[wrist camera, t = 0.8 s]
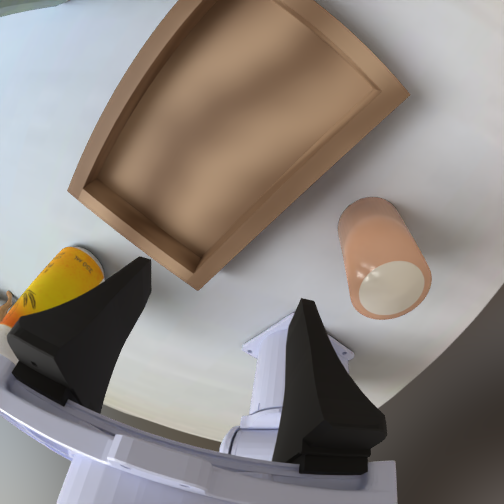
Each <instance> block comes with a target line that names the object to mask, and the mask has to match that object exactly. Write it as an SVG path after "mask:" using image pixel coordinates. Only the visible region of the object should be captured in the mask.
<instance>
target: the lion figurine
mask: <svg viewBox="0 0 504 504" xmlns="http://www.w3.org/2000/svg"><path fill="white" fill-rule="evenodd" d="M6 294H7V296H8V301H7V302H6V303H5V304H4V305H2V306H1V307H0V322H1V321H2V320H3V318H4V317H5V316H6V314H7V311H8V309H9V308H10V307H11V306H12V297H13V296H12V294H11V292H9V291H7V293H6Z"/></svg>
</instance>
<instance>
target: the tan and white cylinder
mask: <svg viewBox="0 0 504 504" xmlns="http://www.w3.org/2000/svg"><path fill="white" fill-rule="evenodd" d="M338 235H339V240H340V245H341V249H342V254H343V259H344V264H345V270H346V275H347V280H348V286H349V292H350V298H351V302H352V304H353V306H354V307H355V309H356V310H357V311H358V312H359V313H361V314H362V315H364V316H366V317H369V318H372V319H379V320H385V319H392V318H396V317H399V316H402V315H404V314H406V313H408V312H410V311H412V310H413V309H414V308H416V307H417V306H418V305H419V304H420V303H421V302H422V301H423V300H424V298H425V297H426V295H427V294H428V292H429V289H430V286H431V281H432V277H431V271H430V269H429V266H428V265H427V263H426V261H425V259H424V257H423V255H422V253H421V251H420V249H419V248H418V246H417V244H416V242H415V240H414V238H413V237H412V235H411V233H410V231H409V230H408V228H407V226H406V224H405V223H404V221H403V219H402V218H401V216H400V214H399V213H398V211H397V210H396V208H395V207H394V206H393V205H392V204H391V203H390V202H388V201H386V200H384V199H382V198H377V197H367V198H363V199H360V200H357V201H355V202H354V203H352V204H351V205H349V206H348V207H347V208H346V209H345V211H344V212H343V213H342V215H341V217H340V219H339V223H338Z"/></svg>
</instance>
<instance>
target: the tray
mask: <svg viewBox="0 0 504 504" xmlns="http://www.w3.org/2000/svg"><path fill="white" fill-rule="evenodd" d="M409 96H410V94H409V92H408V91H407V90H406V89H405V87H404V86H403V85H402V84H401V83H400V82H399V80H398V79H397V78H396V77H395V76H394V75H393V74H392V73H391V71H390V70H389V69H388V68H387V67H386V66H385V65H384V64H383V63H382V62H381V61H380V60H379V59H378V58H377V56H376V55H375V54H374V53H373V52H372V51H371V50H370V49H369V48H368V47H367V46H366V45H365V44H364V43H362V42H361V41H360V40H359V39H358V38H357V37H356V36H355V35H354V34H353V33H352V32H351V31H350V30H349V29H347V28H346V27H345V26H344V25H343V24H342V23H341V22H340V21H338V20H337V19H336V18H335V17H334V16H332V15H331V14H330V13H329V12H328V11H326V10H325V9H324V8H323V7H321V6H320V5H319V4H318V3H316V2H315V1H314V0H178V1H177V3H176V4H175V5H174V6H173V7H172V9H171V10H170V11H169V12H168V14H167V15H166V16H165V17H164V19H163V20H162V21H161V22H160V24H159V25H158V26H157V28H156V29H155V30H154V32H153V33H152V34H151V36H150V37H149V39H148V40H147V41H146V43H145V44H144V46H143V47H142V49H141V50H140V51H139V53H138V54H137V56H136V57H135V59H134V60H133V62H132V63H131V65H130V67H129V68H128V70H127V71H126V73H125V74H124V76H123V78H122V79H121V81H120V83H119V84H118V86H117V88H116V89H115V91H114V93H113V95H112V96H111V98H110V100H109V102H108V104H107V105H106V107H105V109H104V111H103V113H102V115H101V117H100V119H99V120H98V122H97V124H96V126H95V128H94V130H93V132H92V134H91V137H90V139H89V141H88V143H87V145H86V147H85V149H84V152H83V154H82V156H81V158H80V161H79V163H78V165H77V168H76V170H75V173H74V175H73V177H72V180H71V183H70V185H69V188H68V190H67V191H68V192H69V193H70V194H71V195H73V196H74V197H75V198H76V199H77V200H79V201H80V202H81V203H82V204H83V205H85V206H86V207H87V208H88V209H90V210H91V211H92V212H93V213H94V214H96V215H97V216H98V217H99V218H101V219H102V220H103V221H104V222H106V223H107V224H108V225H110V226H111V227H112V228H113V229H115V230H116V231H117V232H118V233H120V234H121V235H122V236H124V237H125V238H126V239H127V240H129V241H130V242H131V243H133V244H134V245H135V246H137V247H138V248H139V249H141V250H142V251H143V252H145V253H146V254H147V255H149V256H150V257H151V258H153V259H154V260H155V261H157V262H158V263H159V264H161V265H162V266H164V267H165V268H166V269H168V270H169V271H170V272H172V273H173V274H175V275H176V276H177V277H179V278H180V279H182V280H183V281H184V282H186V283H187V284H189V285H190V286H191V287H193V288H194V289H196V290H197V291H199V290H200V289H201V288H202V287H203V286H204V285H205V284H206V283H207V282H208V281H209V280H210V279H211V278H212V277H213V276H214V275H216V274H217V273H218V272H219V271H220V270H221V269H222V268H223V267H224V266H225V265H226V264H227V263H228V262H229V261H230V260H232V259H233V258H234V257H235V256H236V255H237V254H238V253H239V252H240V251H241V250H242V249H243V248H244V247H245V246H247V245H248V244H249V243H250V242H251V241H252V240H253V239H254V238H255V237H256V236H257V235H258V234H259V233H260V232H262V231H263V230H264V229H265V228H266V227H267V226H268V225H269V224H270V223H271V222H272V221H273V220H274V219H276V218H277V217H278V216H279V215H280V214H281V213H282V212H283V211H284V210H285V209H286V208H287V207H288V206H290V205H291V204H292V203H293V202H294V201H295V200H296V199H297V198H298V197H299V196H300V195H301V194H303V193H304V192H305V191H306V190H307V189H308V188H309V187H310V186H311V185H312V184H313V183H314V182H316V181H317V180H318V179H319V178H320V177H321V176H322V175H323V174H324V173H325V172H326V171H327V170H329V169H330V168H331V167H332V166H333V165H334V164H335V163H336V162H337V161H338V160H339V159H341V158H342V157H343V156H344V155H345V154H346V153H347V152H348V151H349V150H350V149H351V148H353V147H354V146H355V145H356V144H357V143H358V142H359V141H360V140H361V139H362V138H364V137H365V136H366V135H367V134H368V133H369V132H370V131H371V130H372V129H373V128H374V127H376V126H377V125H378V124H379V123H380V122H381V121H382V120H383V119H384V118H385V117H387V116H388V115H389V114H390V113H391V112H392V111H393V110H394V109H395V108H397V107H398V106H399V105H400V104H401V103H402V102H403V101H404V100H405V99H406V98H408V97H409Z"/></svg>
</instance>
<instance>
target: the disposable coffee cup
mask: <svg viewBox="0 0 504 504" xmlns="http://www.w3.org/2000/svg"><path fill="white" fill-rule="evenodd" d="M67 1H69V0H0V17H2V16H6V15H11V14H15V13H19V12H24V11H29V10H35V9H40V8H47V7H54V6H57V5H59V4H62V3H64V2H67Z"/></svg>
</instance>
